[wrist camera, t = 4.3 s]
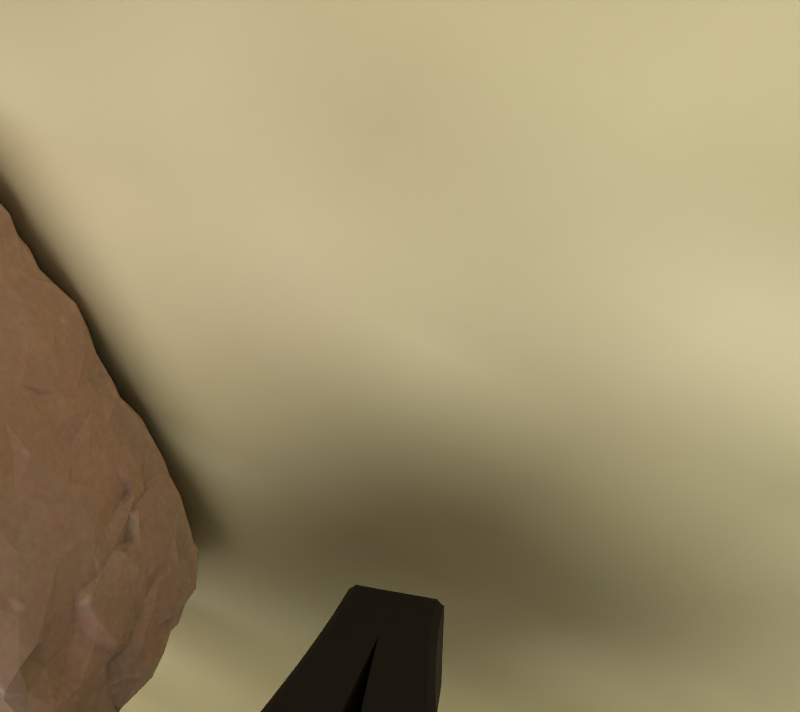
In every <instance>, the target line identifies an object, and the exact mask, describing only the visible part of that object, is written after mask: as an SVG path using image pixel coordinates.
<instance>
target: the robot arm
mask: <svg viewBox="0 0 800 712" xmlns="http://www.w3.org/2000/svg"><path fill="white" fill-rule="evenodd" d="M443 620H444V606H443V605H442V604H441V603H440V602H439V601H438V600H437V599H432V598H426V597H421V596H415V595H409V594H404V593H398V592H393V591H387V590H381V589H376V588H370V587H365V586H359V585H355V586H354V587H352V588H350V589H349V590H348V592H347V594H346V595H345V597H344V598H343V600H342V602H341V603H340V605H339V606H338V608H337V609H336V611H335V612H334V614H333V616H332V617H331V619H330V620H329V622H328V623H327V624H326V626H325V627H324V629H323V630H322V632H321V633H320V635H319V636H318V637H317V639H316V640H315V642H314V643H313V644H312V646H311V647H310V648H309V650H308V651H307V653H306V654H305V655H304V657H303V658H302V659H301V661H300V662H299V664H298V665H297V666H296V667H295V669H294V670H293V671H292V673H291V674H290V675H289V676H288V678H287V679H286V680H285V682H284V683H283V684H282V685H281V687H280V688H279V689H278V690H277V692H276V693H275V694H274V696H273V697H272V698H271V699H270V701H269V702H268V703H267V704H266V706H265V707H264V708H263V709H262V711H261V712H437V710H438V703H439V696H440V689H441V676H442V648H443Z"/></svg>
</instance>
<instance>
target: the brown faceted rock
mask: <svg viewBox="0 0 800 712" xmlns="http://www.w3.org/2000/svg"><path fill="white" fill-rule="evenodd" d="M197 562H198V548H197V546H196V544H195V542H194V541H193V539H192V533H191V530H190V526H189V523H188V520H187V516H186V513H185V509H184V506H183V503H182V499H181V496H180V494H179V492H178V490H177V488H176V486H175V484H174V483H173V481H172V479H171V477H170V475H169V472H168V469H167V466H166V463H165V461H164V459H163V457H162V455H161V453H160V451H159V450H158V448H157V446H156V444H155V442H154V440H153V439H152V437H151V435H150V433H149V431H148V429H147V428H146V426H145V424H144V422H143V420H142V418H141V417H140V416H139V415H138V414H137V413H136V412H135V411H134V410H133V409H132V408H131V407H130V406H129V405H128V404H127V403H126V402H125V401H124V400H123V399H122V398H121V397H120V396H119V393H118V391H117V389H116V387H115V384H114V382H113V381H112V379H111V377H110V376H109V374H108V372H107V371H106V369H105V367H104V366H103V364H102V362H101V361H100V359H99V357H98V355H97V354H96V351H95V348H94V345H93V342H92V339H91V336H90V333H89V330H88V327H87V325H86V323H85V321H84V319H83V317H82V315H81V313H80V311H79V309H78V306H77V304H76V303H75V302H74V301H73V300H72V299H71V298H69V297H68V296H67V295H66V294H65V293H64V292H63V291H62V290H61V289H60V288H59V287H58V286H57V285H55V284H54V283H53V282H52V281H51V280H50V279H49V278H48V277H47V276H46V275H45V274H44V273H43V272H42V271H41V270H40V269H39V268H38V266H37V264H36V261H35V259H34V257H33V255H32V253H31V251H30V249H29V247H28V246H27V245H26V244H25V243H24V242H23V241H22V239H21V238H20V237H19V236H18V234H17V232H16V229H15V227H14V224H13V221H12V219H11V216H10V214H9V213H8V211H7V210H6V209H5V208H4V207H3V206H2V204H1V203H0V712H119V711H120V709H121V708H122V707H123V706H124V705H125V704H126V703H127V702H128V701H129V700H130V699H131V698H132V697H133V696H134V695H135V694H136V693H137V692H138V691H139V690H140V689H141V688H142V687H143V686H144V685H145V684H146V683H147V682H148V681H149V680H150V679H151V678H152V676H153V674H154V672H155V670H156V668H157V666H158V664H159V662H160V659H161V657H162V655H163V653H164V651H165V648H166V644H167V641H168V638H169V634H170V631H171V630H172V629H173V628H174V627H175V626H176V625H177V624H178V623H179V620H180V617H181V614H182V611H183V608H184V605H185V603H186V602H187V600H188V599H189V597H190V596H191V594H192V593H193V591H194V590H195V589H196V578H197Z"/></svg>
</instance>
